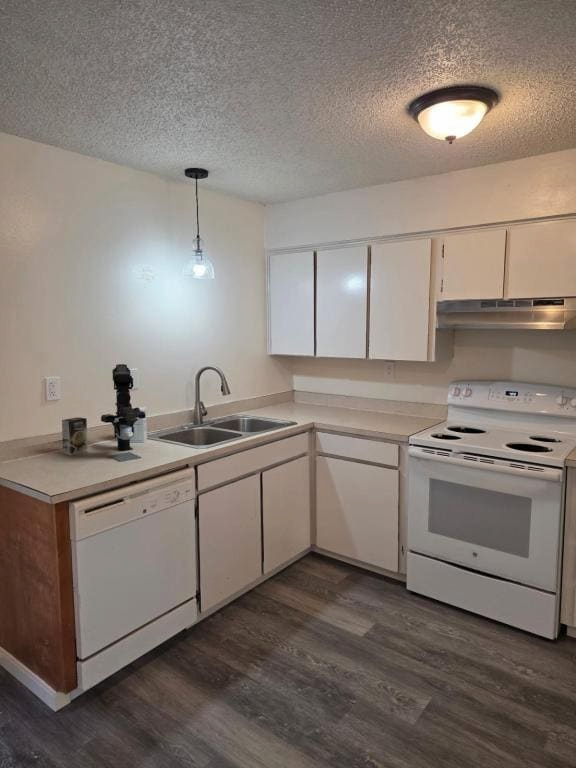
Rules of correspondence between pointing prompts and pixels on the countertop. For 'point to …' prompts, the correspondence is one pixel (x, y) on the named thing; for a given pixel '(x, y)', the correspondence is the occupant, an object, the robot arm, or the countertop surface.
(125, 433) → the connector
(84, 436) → the coffee box
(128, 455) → the mat
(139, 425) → the supplement box
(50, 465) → the countertop surface
